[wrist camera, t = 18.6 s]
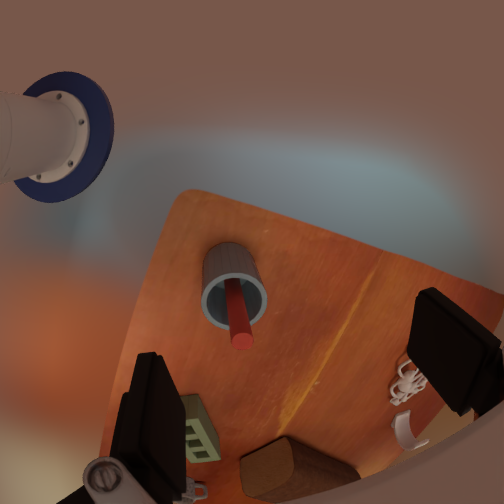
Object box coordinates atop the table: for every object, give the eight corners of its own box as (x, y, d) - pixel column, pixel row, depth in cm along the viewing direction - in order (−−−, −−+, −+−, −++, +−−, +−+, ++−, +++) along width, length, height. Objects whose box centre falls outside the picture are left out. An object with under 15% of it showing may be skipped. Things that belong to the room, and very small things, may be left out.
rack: (190, 441, 55) (191, 463, 49) (165, 398, 49) (162, 422, 43) (219, 438, 55) (221, 459, 49) (197, 393, 49) (198, 418, 44)
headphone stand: (409, 409, 63) (430, 440, 51) (402, 422, 65) (421, 452, 53) (395, 414, 62) (415, 446, 51) (389, 427, 64) (407, 458, 53)
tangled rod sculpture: (417, 391, 62) (426, 401, 58) (374, 406, 58) (382, 418, 55) (448, 330, 55) (459, 340, 51) (404, 342, 51) (416, 354, 48)
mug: (170, 484, 62) (170, 502, 56) (170, 475, 60) (169, 495, 54) (205, 486, 64) (207, 505, 58) (207, 477, 62) (209, 497, 55)
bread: (316, 487, 72) (326, 518, 60) (235, 458, 59) (241, 504, 46) (357, 465, 70) (371, 497, 58) (287, 431, 57) (301, 480, 44)
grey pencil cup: (209, 294, 43) (210, 335, 33) (197, 248, 40) (193, 280, 31) (258, 284, 43) (271, 322, 34) (249, 237, 41) (261, 266, 31)
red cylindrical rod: (225, 279, 41) (235, 352, 26) (220, 266, 41) (228, 336, 26) (239, 274, 41) (256, 346, 26) (234, 261, 41) (250, 330, 26)
